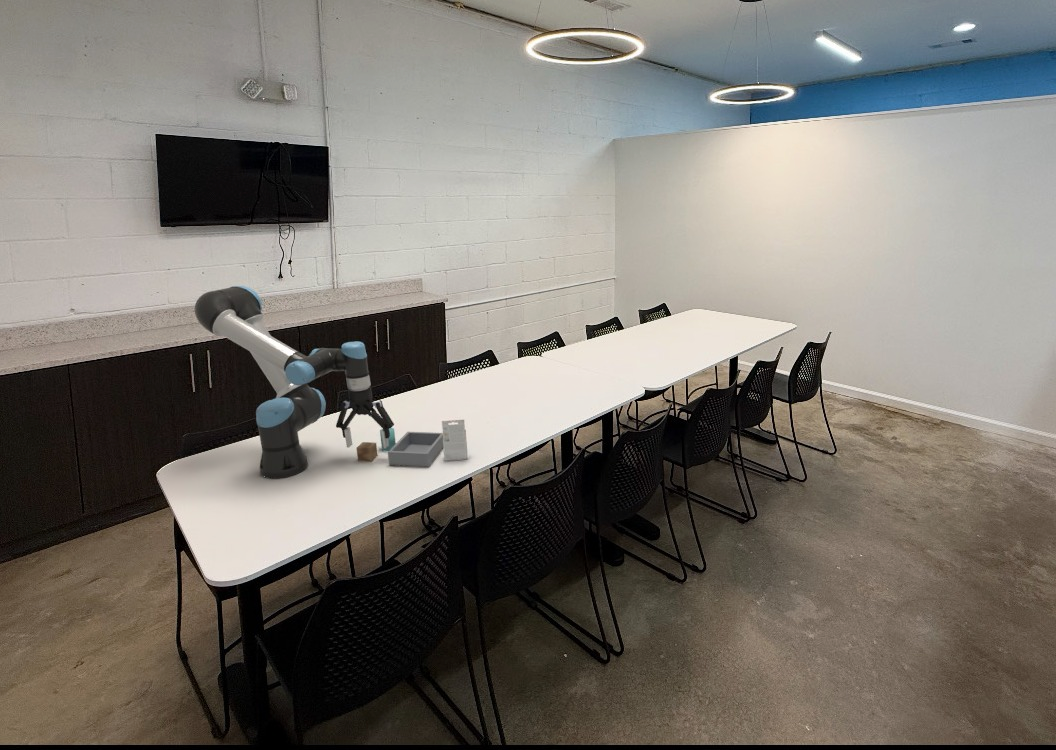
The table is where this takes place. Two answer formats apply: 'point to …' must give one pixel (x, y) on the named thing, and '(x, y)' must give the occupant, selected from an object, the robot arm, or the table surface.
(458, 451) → the ink box
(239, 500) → the table surface
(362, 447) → the cube
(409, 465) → the tote
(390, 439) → the cylinder
